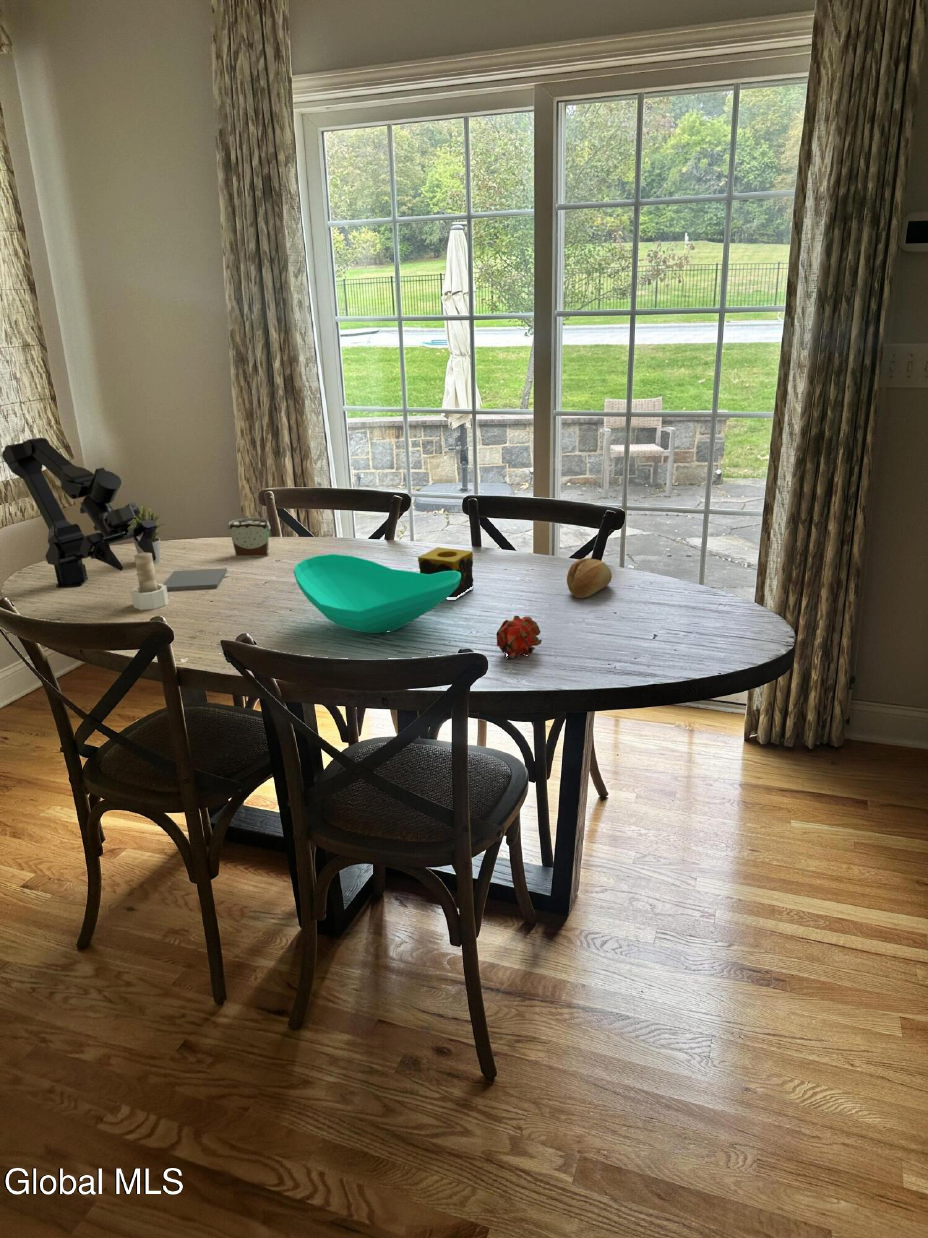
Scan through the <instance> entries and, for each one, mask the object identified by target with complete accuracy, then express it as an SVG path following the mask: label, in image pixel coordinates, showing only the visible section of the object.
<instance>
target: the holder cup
mask: <svg viewBox="0 0 928 1238" xmlns="http://www.w3.org/2000/svg"><path fill="white" fill-rule="evenodd" d="M163 584H164V583H160V582H159V583H157V588H158V590H157V591H154V592H148V593H141V592H140V586H135V587H133V589H132V590H131V591H130V594H131V598H132V600H131V601H132V605H133V608H135V609H137V610H140V611H143V610H146V611H147V610H155V609H159V608H161V607H162V608H163V607H164V606H165V607H166V606H167V605H168V603H169V602H170V601H169V594H168V591H167V587H166V585H163Z"/></svg>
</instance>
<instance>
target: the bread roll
mask: <svg viewBox="0 0 928 1238" xmlns="http://www.w3.org/2000/svg"><path fill="white" fill-rule="evenodd" d="M612 578H613V577H612V572H611V569H610V567H609V565H607V563H606V562H604V561H602V560H599V559H596V558H594V559H593V558H592V557H588V558H580V559H578V560H576V561H575V562H573V563H572V564H571V565H570V567H569V569H568V571H567V575H566V584H567V589H568V590H569V592H570V593H571V595H572V596H574V597H575V598H577V597H578V599H585V597H586V598H588V597H590V596H592V595H594V594H595V593H597V592H599V591H600V590H603V589H605V588H606V587H607V586H608V585H609V584H610V583H611V581H612Z"/></svg>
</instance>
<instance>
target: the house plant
mask: <svg viewBox="0 0 928 1238" xmlns="http://www.w3.org/2000/svg"><path fill="white" fill-rule="evenodd" d="M147 508H148V506H145V507H144V505H141V507H140V514H139V515H138V516H136V519H133V520H132V521H130V523H131V526H130V527H128V530H132V529H135V527H136V525H137V523H138V522H141V521H145V520H149V519H151V520H153V521H154V522H155V523H156V524H157V521H158V519H159V518H160V516H161V515H162V514H163V512H161V513H160V514H159V515H156V516H155V517H154V515H155V514H154V510H151V508H150V507H149V509H148V518H146V510H147ZM151 511H152V512H151ZM163 525H165V523H161V524H159V525H157V526H158V527H157V529H158V528H159V527H161V526H163ZM159 533H160V534H162V531H159V532H157V531H155V532H154V534H153V536H152V544H153V548H154V552H155V556H156V560H155V561H153V564H158V563H159V562H161V538H160V537H156V536H157V535H158V534H159ZM130 539H133V538H130ZM138 543H139V542H137V541H135V540H134V541H133V544H134V546H135V547H134V548H135V550H136V552H137V554H139V553H145V552H144V551H143V550H142V549H141V548H140V547H139V546H138Z"/></svg>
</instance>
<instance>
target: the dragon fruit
mask: <svg viewBox="0 0 928 1238" xmlns="http://www.w3.org/2000/svg"><path fill="white" fill-rule="evenodd" d="M540 634H541V629H540V627H539V625H538V623H537V622H536V620H533V618H532V617H531V616H523V617H522V618H521V617H520V616H519V615H514V616H513V619H512V620H509V619H506V620H504V621H503V622H502V623H501V626H500V627H499V629H498V630H497V632H496V635H495V636H496V647H498V648H499V649H500V652H502V653H504V652H505V653H507V654H508V656H507V657H510V658H509V659H517V658H519V657H520V656H521V654H522V653H523V654H525V655H528V656H527V657H529V656H530V655H532V654H533V653H534V651H535V649H536V647H537V646H540V645H541V644H542V639H539V637H538V636H539V635H540ZM505 653H504V654H505ZM507 657H505V656H504V658H507ZM512 657H514V658H512Z"/></svg>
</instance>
